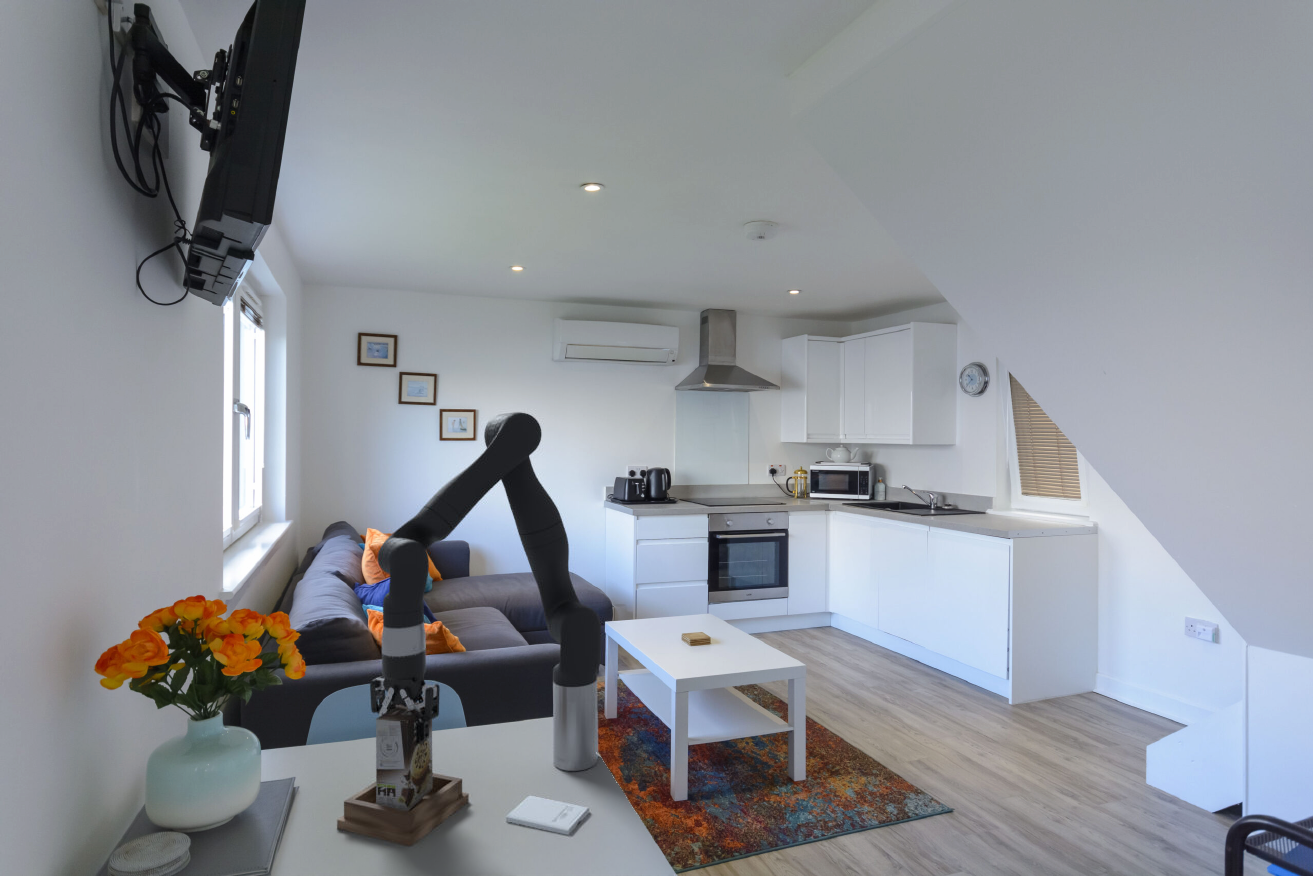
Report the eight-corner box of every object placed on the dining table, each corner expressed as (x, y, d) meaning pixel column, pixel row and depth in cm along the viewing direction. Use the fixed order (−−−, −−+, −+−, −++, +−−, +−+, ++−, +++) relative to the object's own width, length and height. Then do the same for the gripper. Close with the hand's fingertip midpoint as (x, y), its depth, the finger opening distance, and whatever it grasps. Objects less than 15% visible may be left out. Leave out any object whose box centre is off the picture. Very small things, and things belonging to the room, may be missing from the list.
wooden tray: (400, 787, 143) (400, 764, 143) (468, 801, 138) (468, 777, 138) (337, 828, 129) (336, 802, 129) (410, 846, 123) (410, 819, 123)
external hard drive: (530, 803, 138) (589, 815, 134) (506, 825, 130) (568, 838, 126) (529, 794, 138) (589, 806, 134) (505, 816, 130) (568, 829, 126)
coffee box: (408, 813, 128) (407, 721, 128) (375, 810, 129) (374, 718, 129) (434, 788, 137) (433, 702, 137) (403, 785, 138) (402, 700, 138)
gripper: (449, 646, 134) (450, 737, 134) (387, 639, 139) (388, 726, 139) (422, 658, 127) (423, 753, 127) (357, 650, 132) (358, 741, 132)
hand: (405, 739), depth 133 cm, fingers closed on coffee box, 7 cm apart
